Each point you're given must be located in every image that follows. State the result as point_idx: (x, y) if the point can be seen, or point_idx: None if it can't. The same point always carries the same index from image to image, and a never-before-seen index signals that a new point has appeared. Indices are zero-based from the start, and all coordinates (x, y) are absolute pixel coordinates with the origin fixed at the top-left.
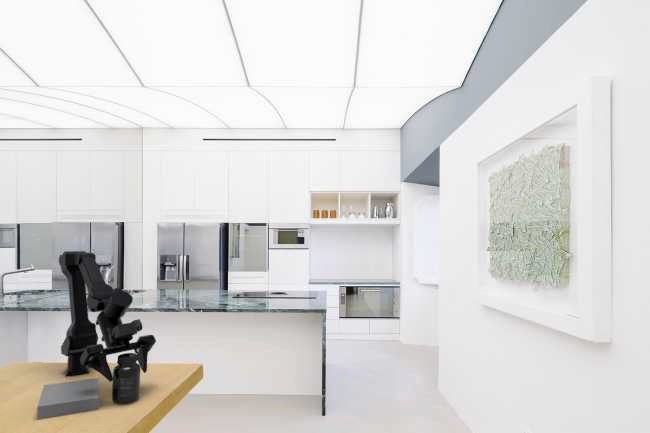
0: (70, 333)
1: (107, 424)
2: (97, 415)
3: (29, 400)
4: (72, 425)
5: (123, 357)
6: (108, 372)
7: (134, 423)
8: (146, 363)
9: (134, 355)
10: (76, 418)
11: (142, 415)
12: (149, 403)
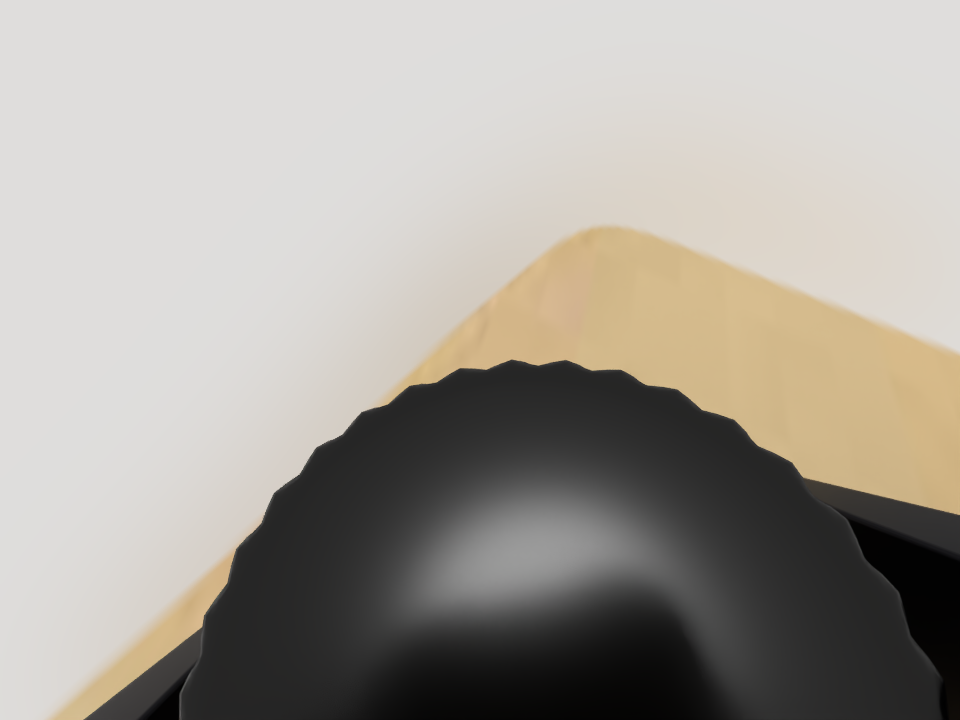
0: None
1: (707, 286)
2: (781, 442)
3: None
4: (940, 370)
5: (712, 439)
6: (926, 515)
7: (568, 238)
8: (133, 684)
9: (341, 479)
10: (947, 474)
11: (506, 301)
12: None
